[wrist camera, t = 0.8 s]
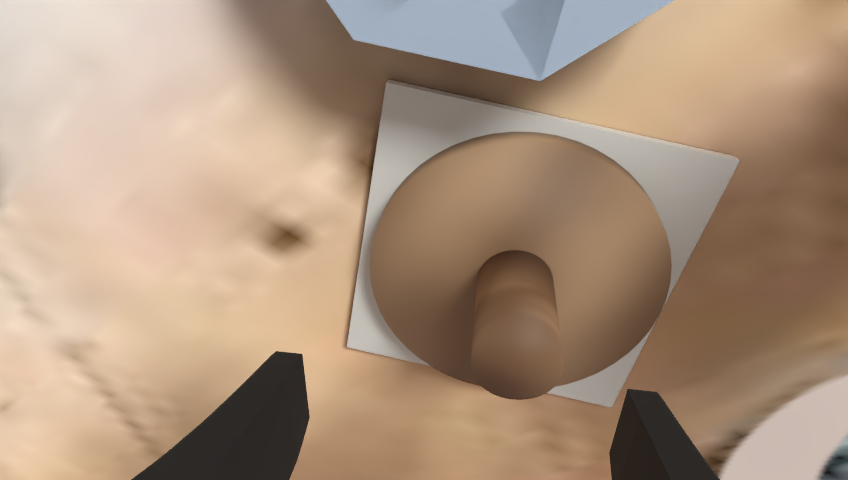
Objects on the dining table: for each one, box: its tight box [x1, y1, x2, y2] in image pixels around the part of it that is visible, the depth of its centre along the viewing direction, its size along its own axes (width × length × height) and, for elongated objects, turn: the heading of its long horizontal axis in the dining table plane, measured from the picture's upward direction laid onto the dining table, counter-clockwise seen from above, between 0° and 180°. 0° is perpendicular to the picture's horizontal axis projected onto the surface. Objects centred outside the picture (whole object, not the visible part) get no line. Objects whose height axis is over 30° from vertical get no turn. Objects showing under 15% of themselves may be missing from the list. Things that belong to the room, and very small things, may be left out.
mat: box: [347, 79, 740, 408], centre depth 22 cm, size 12×12×1 cm
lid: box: [370, 131, 672, 400], centre depth 19 cm, size 11×11×6 cm
